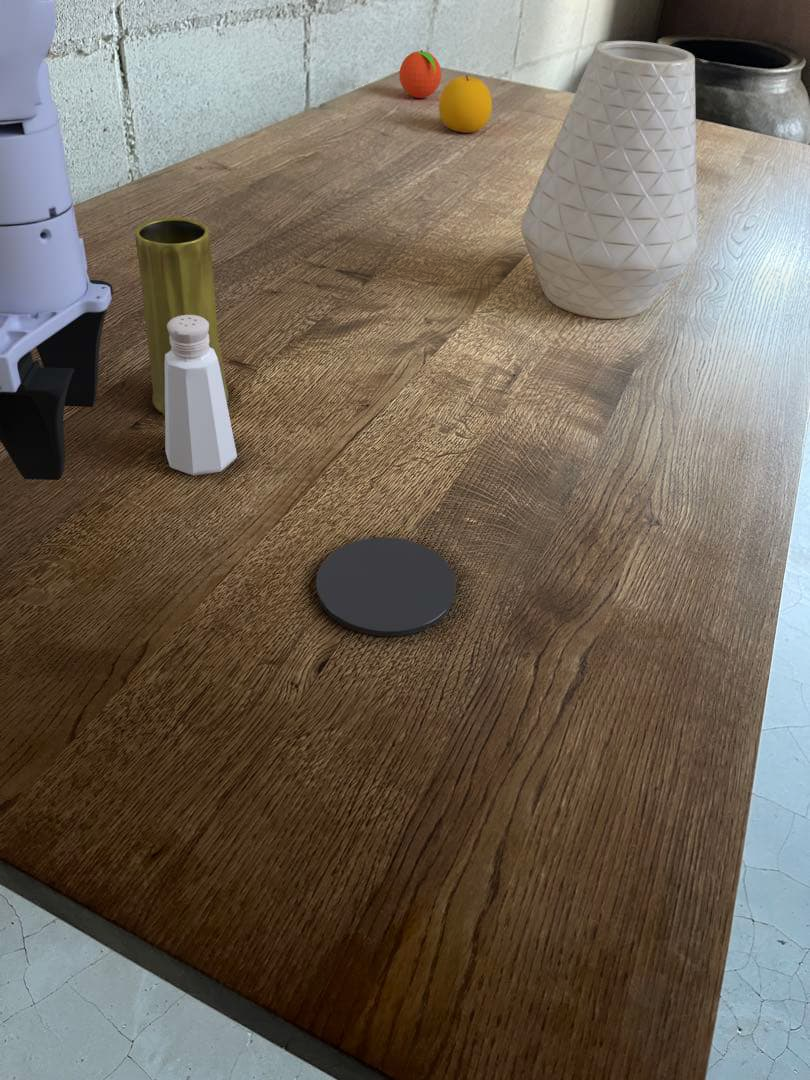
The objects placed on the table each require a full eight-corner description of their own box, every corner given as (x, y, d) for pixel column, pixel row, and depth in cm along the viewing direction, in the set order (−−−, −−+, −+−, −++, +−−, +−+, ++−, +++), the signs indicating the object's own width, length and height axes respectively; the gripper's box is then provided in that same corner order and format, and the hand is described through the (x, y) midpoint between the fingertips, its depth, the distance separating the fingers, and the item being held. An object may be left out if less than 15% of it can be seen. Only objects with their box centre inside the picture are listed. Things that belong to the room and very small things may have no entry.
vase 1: (222, 422, 73) (207, 249, 64) (145, 418, 73) (119, 244, 64) (233, 383, 78) (221, 216, 69) (160, 379, 78) (138, 212, 68)
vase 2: (590, 349, 86) (644, 83, 72) (479, 279, 97) (506, 36, 83) (715, 312, 94) (787, 66, 80) (600, 252, 105) (644, 25, 91)
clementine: (451, 102, 152) (455, 55, 147) (415, 106, 149) (418, 58, 144) (424, 90, 157) (428, 44, 153) (390, 94, 154) (392, 46, 150)
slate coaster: (311, 634, 56) (311, 629, 55) (319, 540, 63) (319, 534, 62) (459, 638, 56) (460, 633, 56) (451, 544, 63) (452, 539, 63)
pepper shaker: (174, 433, 72) (157, 301, 65) (243, 438, 72) (234, 307, 65) (156, 474, 67) (137, 337, 60) (230, 479, 67) (219, 343, 60)
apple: (463, 140, 136) (468, 85, 131) (426, 127, 140) (430, 73, 135) (499, 132, 140) (506, 78, 135) (463, 119, 144) (468, 67, 140)
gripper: (56, 268, 40) (103, 515, 48) (125, 162, 51) (153, 378, 60) (-112, 261, 39) (-35, 512, 48) (-6, 155, 51) (42, 374, 59)
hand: (61, 438), depth 54 cm, fingers open, 7 cm apart
